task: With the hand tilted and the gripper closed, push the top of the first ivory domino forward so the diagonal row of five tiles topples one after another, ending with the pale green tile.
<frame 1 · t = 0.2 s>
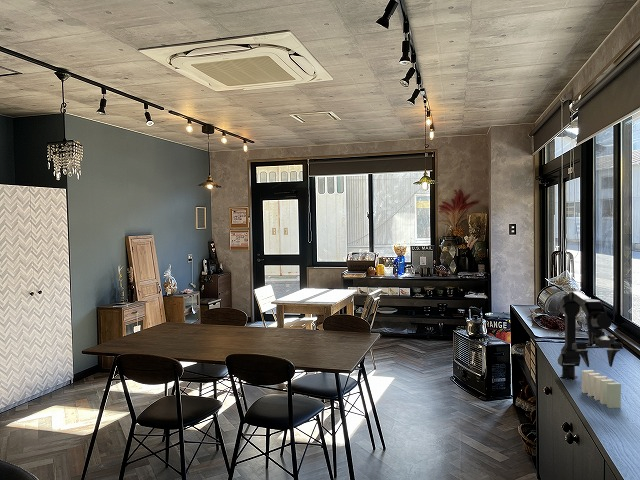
hand: (599, 366, 211), 15 cm above the sideboard, tool pointing down, fingers open, 9 cm apart
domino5: (613, 407, 206), on the sideboard
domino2: (594, 396, 219), on the sideboard
domino1: (587, 392, 223), on the sideboard
domino4: (606, 403, 211), on the sideboard
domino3: (600, 399, 215), on the sideboard
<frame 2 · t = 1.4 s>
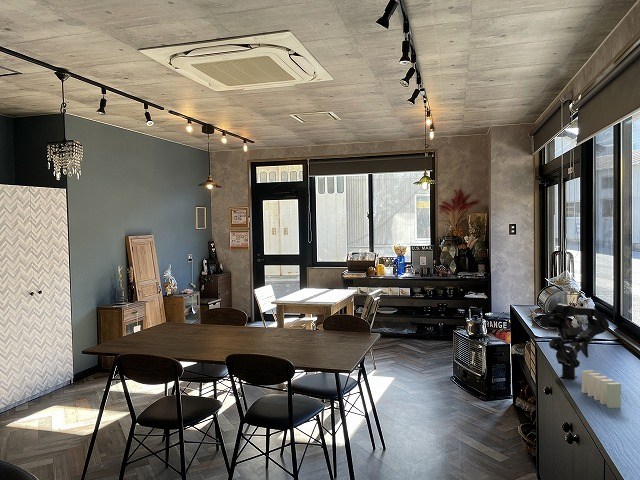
hand: (578, 358, 230), 14 cm above the sideboard, tool tilted 45°, fingers open, 9 cm apart
nothing on the sideboard moved.
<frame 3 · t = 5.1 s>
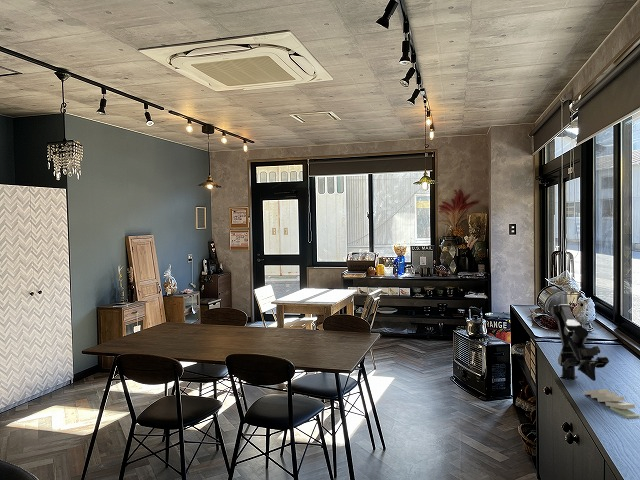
hand: (594, 380, 219), 7 cm above the sideboard, tool tilted 45°, fingers closed
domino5: (615, 408, 205), on the sideboard, tilted 90°, touching domino4
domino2: (596, 395, 217), point 1 cm above the sideboard, tilted 68°, touching domino1, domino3
domino1: (589, 392, 222), point 1 cm above the sideboard, tilted 68°, touching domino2
domino4: (610, 403, 209), point 1 cm above the sideboard, tilted 78°, touching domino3, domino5
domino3: (602, 399, 213), point 1 cm above the sideboard, tilted 69°, touching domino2, domino4
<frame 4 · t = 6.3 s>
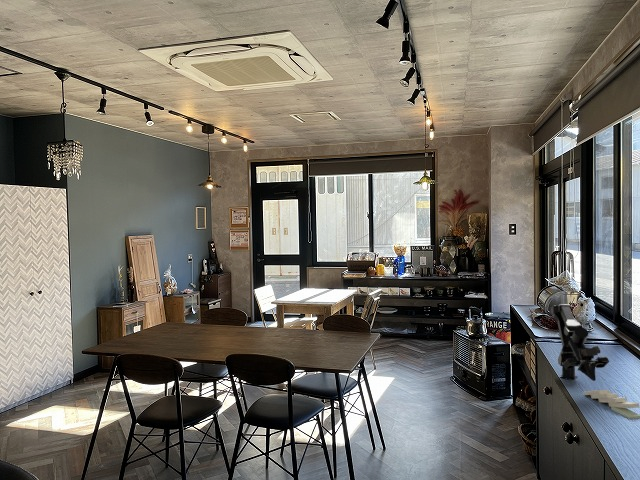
hand: (594, 380, 219), 7 cm above the sideboard, tool tilted 45°, fingers closed
domino1: (589, 392, 221), point 1 cm above the sideboard, tilted 69°, touching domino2
domino4: (613, 403, 207), point 1 cm above the sideboard, tilted 74°, touching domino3, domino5
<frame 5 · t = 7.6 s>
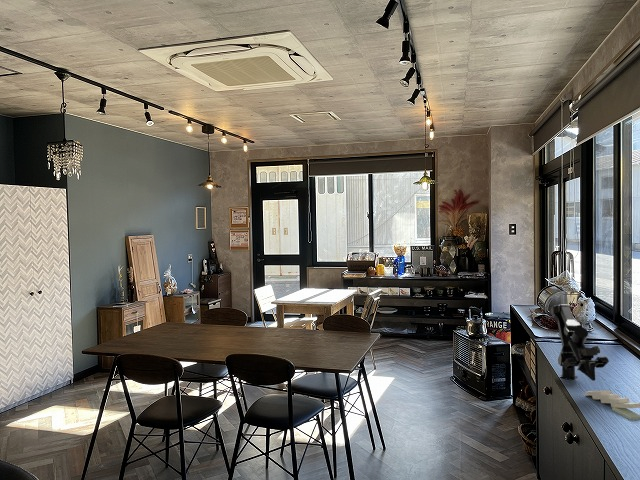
hand: (594, 380, 219), 7 cm above the sideboard, tool tilted 45°, fingers closed
domino4: (615, 404, 206), point 1 cm above the sideboard, tilted 73°, touching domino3, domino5
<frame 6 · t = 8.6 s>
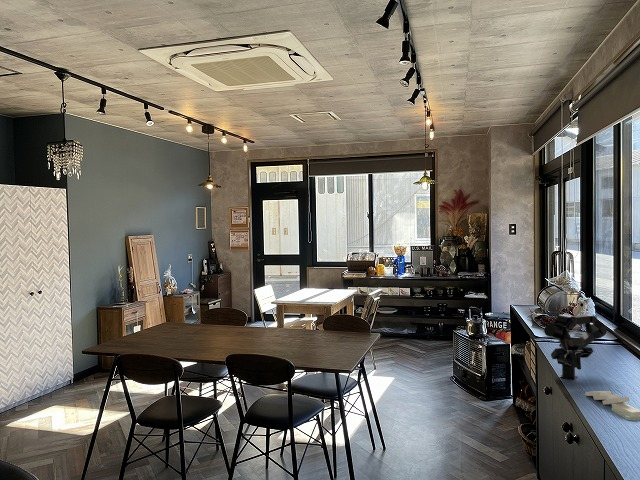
hand: (580, 369, 230), 9 cm above the sideboard, tool tilted 45°, fingers closed
domino1: (590, 393, 220), point 1 cm above the sideboard, tilted 70°, touching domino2
domino4: (617, 404, 204), point 2 cm above the sideboard, tilted 90°, touching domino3, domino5
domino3: (608, 402, 210), point 1 cm above the sideboard, tilted 63°, touching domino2, domino4
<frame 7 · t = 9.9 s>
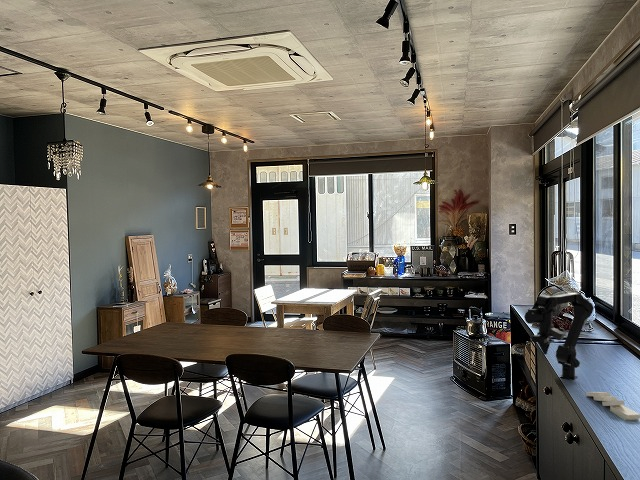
hand: (545, 354, 239), 13 cm above the sideboard, tool pointing down, fingers closed
domino4: (616, 407, 202), point 2 cm above the sideboard, tilted 90°, touching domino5
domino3: (608, 403, 208), point 1 cm above the sideboard, tilted 68°, touching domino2
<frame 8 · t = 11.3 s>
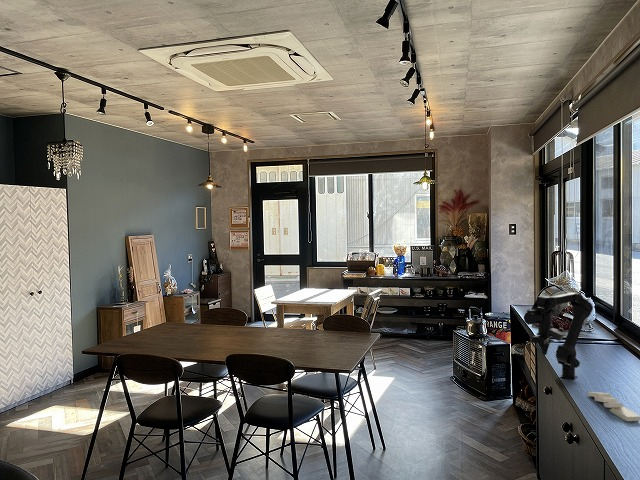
hand: (544, 354, 239), 13 cm above the sideboard, tool pointing down, fingers closed
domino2: (600, 398, 214), point 1 cm above the sideboard, tilted 74°, touching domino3
domino1: (593, 394, 219), point 1 cm above the sideboard, tilted 74°
domino4: (617, 409, 200), point 2 cm above the sideboard, tilted 90°, touching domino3, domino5
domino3: (610, 404, 206), point 1 cm above the sideboard, tilted 71°, touching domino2, domino4
at the end: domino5 tilted 90°; domino1 tilted 74° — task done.
